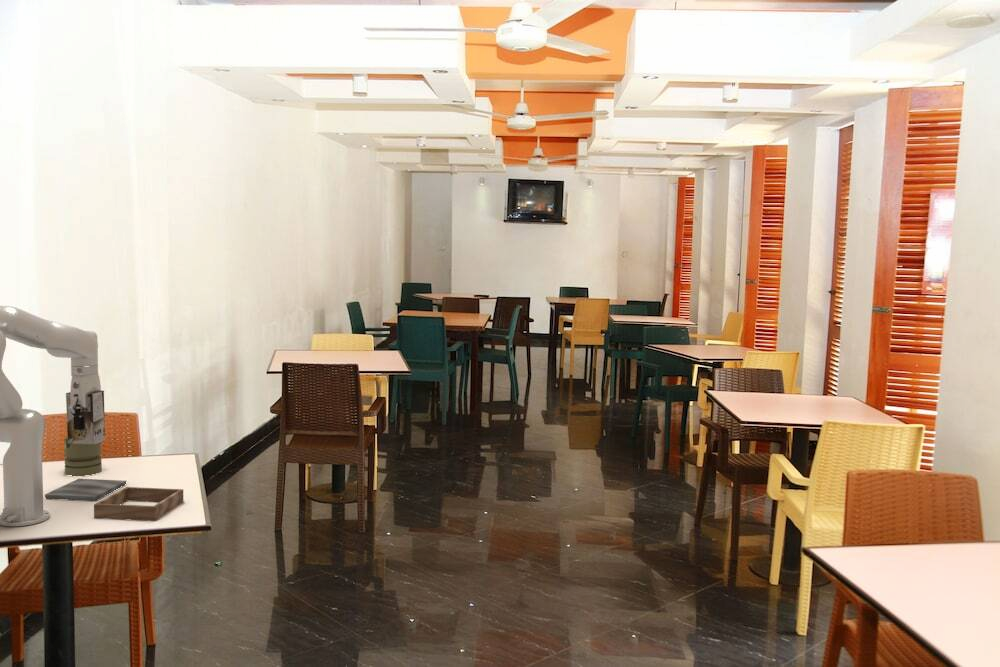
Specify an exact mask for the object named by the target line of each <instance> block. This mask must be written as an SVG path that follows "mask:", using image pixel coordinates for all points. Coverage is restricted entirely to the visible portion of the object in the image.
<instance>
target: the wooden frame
mask: <svg viewBox="0 0 1000 667" xmlns="http://www.w3.org/2000/svg"><path fill="white" fill-rule="evenodd" d="M127 500H130V501H129V502H146V501H148V502H149V503H152V502H153V503H156V504H153V505H142V504H141V505H139V504H138V505H136V504H125V503H127V502H128V501H127ZM126 501H127V502H126ZM124 502H125V503H124ZM122 503H123V504H122ZM183 503H184V489H182V488H160V487H159V488H158V487H157V488H156V487H155V488H154V487H135V486H124V487H122V488H121V489H119V490H117V492H116V491H115V492H113V493H111V494H109V495H108V496H106V497H104V498H102V499H100V500H98V501H97V502H96V503H94V504H93V519H103V518H114V519H113V520H125V519H131V520H133V521H147V520H151V522H154V521H155V522H156V521H157V520H159V519H160V518H162V517H164V516H165V515H166V514H168V513H169V512H171V511H173V510H174V509H175V508H177V507H179V506H180V505H181V504H183ZM120 504H121V505H120ZM131 520H130V521H131Z"/></svg>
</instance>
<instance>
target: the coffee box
mask: <svg viewBox="0 0 1000 667" xmlns="http://www.w3.org/2000/svg"><path fill="white" fill-rule="evenodd" d="M65 402H66V403H65V404H66V405H65V406H66V430H67V431H66V432H67V437H68V443H74V444H96V443H99V442H101V443H102V442H104V441H106V427H105V423H106V422H105V421H106V420H105V417H106V416H105V390H101V391H100V390H98V391H95V392H92V393H89V394H88V408H84V414H83V417H84V420H85V429H84V430H75V429H74V418H73V416H72V413H71V411H70V409H69V406H70V404H71V401H70V391H69V392H66V393H65ZM77 407H81V405H77ZM77 410H78V411H79V412H80V410H81V409H77Z"/></svg>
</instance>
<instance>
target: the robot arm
mask: <svg viewBox="0 0 1000 667" xmlns="http://www.w3.org/2000/svg"><path fill="white" fill-rule="evenodd" d="M7 339H9V340H11V341H14V342H16V343H19V344H23V345H24V346H25V345H26V346H27V347H31V348H35V349H42V350H46V352H47V353H48V354H49V355H51V356H52V357H55V358H62V359H63V358H64V359H65V358H66V359H70V376H71V380H70V381H71V382H70V391H69V392H70V401H71V404H70V406H69V409H70V411H71V413H72V416H73V418H74V429H75V430H84V429H85V420H84V417H83V414H84V408H88V394H89V393H92V392H95V391H98V390H100V391H102V386H101V379H100V375H99V354H98V352H99V351H98V350H99V343H98V334H97V333H96V332H95V331H91V330H84V329H81V328H78V327H75V326H71V325H67V324H62V323H59V322H56V321H53V320H50V319H49V320H48V319H44V318H41V317H40V316H37V315H34V314H32V313H30V312H27V311H25V310H23V309H20V308H18V307H15V306H11V305H0V443H9V444H10V445H9V446H8V448H7V449H6V452H5V453H4V455H3V458H2V475H3V478H2V479H3V484H2V485H3V508H2V513H1V514H0V525H1V526H3V527H23V526H30V525H35V524H36V525H37V524H39V523H42V522H45V521H47V520H48V519H49V518H50V516H51V514H50V511H49V510H46V509H44V486H43V485H44V484H43V483H44V482H43V481H44V480H43V478H44V477H43V444H44V443H43V442H44V437H45V431H46V420H45V417H44V415H42V413H41V412H39V411H37V410H33V409H30V408H29V409H28V408H23V399H22V396H21V395H20V393H19V392H18V390H17V389H16V387H14V385H13V384H12V382H11V381H10V380H9V378H8V377H7V375H6V374H5V373H4V371H3V370H4V369H3V367H2V365H3V360H4V354H5V351H6V347H7ZM77 405H81V407H77ZM77 409H81V410H80V412H79V411H78V410H77Z"/></svg>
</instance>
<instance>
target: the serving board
mask: <svg viewBox="0 0 1000 667" xmlns="http://www.w3.org/2000/svg"><path fill="white" fill-rule="evenodd" d="M125 484H126V485H127V480H119V479H116V480H115V479H99V478H98V479H97V478H95V479H93V478H77V479H74V480H73V481H71V482H68V483H67V484H64V485H62V486H60V487H58V488H56V489H53V490H52V491H49V492H47V493H45V494H44V499H45V498H46V499H45V500H52V499H68V500H67V501H75V500H87V501H86V502H98V501H99V500H101V499H103V498H105V497H106V496H105V495H107V494H109V493H111V492H112V493H114V492H115V491H114V490H116V489H118V488H120V487H121V486H124V485H125ZM124 487H125V486H124ZM120 489H121V488H120ZM118 490H119V489H118ZM113 491H114V492H113ZM116 491H117V490H116ZM112 493H111V494H112ZM109 495H110V494H109ZM104 496H105V497H104ZM107 496H108V495H107ZM102 497H103V498H102ZM100 498H101V499H100ZM98 499H99V500H98ZM97 500H98V501H97Z"/></svg>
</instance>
